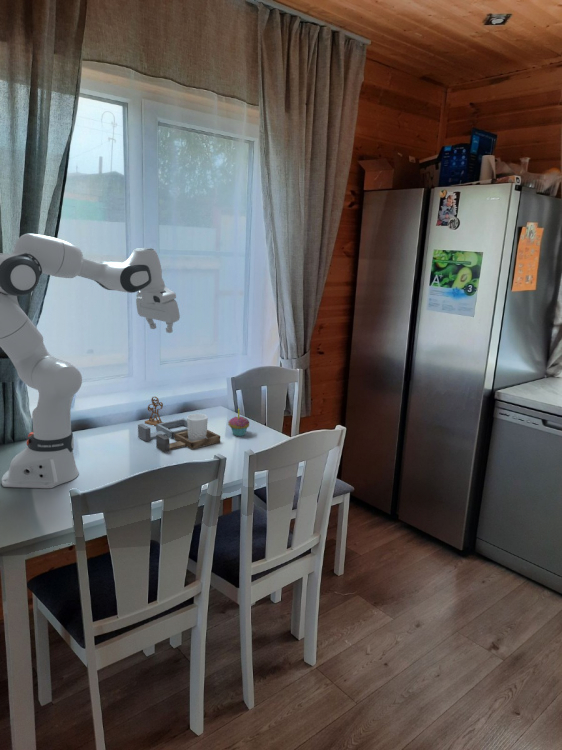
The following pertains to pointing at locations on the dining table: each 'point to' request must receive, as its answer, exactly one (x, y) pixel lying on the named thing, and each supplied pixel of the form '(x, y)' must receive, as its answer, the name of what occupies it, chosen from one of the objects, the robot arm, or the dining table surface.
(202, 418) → the white cup
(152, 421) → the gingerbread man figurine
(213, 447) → the dining table surface
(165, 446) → the walnut frame
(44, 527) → the dining table surface
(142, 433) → the grey frame
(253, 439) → the dining table surface
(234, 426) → the cupcake
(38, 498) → the dining table surface
